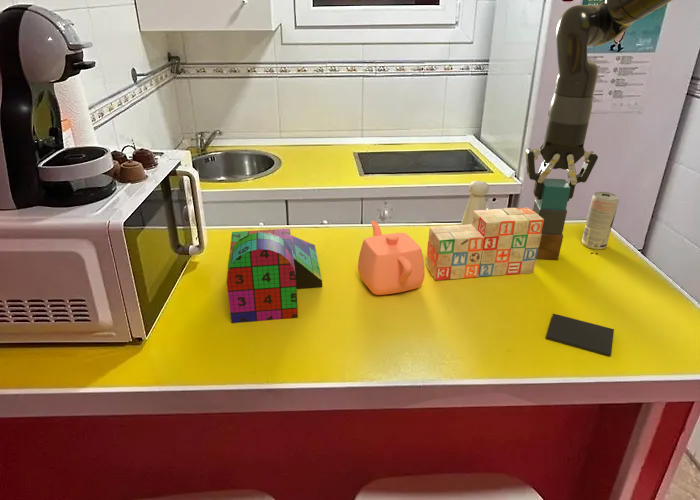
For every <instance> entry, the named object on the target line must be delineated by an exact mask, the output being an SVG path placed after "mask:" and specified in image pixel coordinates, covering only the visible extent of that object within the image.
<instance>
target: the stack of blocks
mask: <svg viewBox="0 0 700 500" xmlns="http://www.w3.org/2000/svg"><path fill="white" fill-rule="evenodd" d="M543 222H544V219H543V218H542V217H540V216H539V215H538V214H536V213H535V212H534V211H533V209H532V208H531V207H502V208H493V209H485V210H478V211H473V218H472V224H470V225H461V224H455V225H454V224H453V225H442V226H429V231H428V240H427V250H426V263H425V267H426V268H427V270H428V271H429V273H430V274H431V276H432V277H433V279H434V280H435V281H442V280H459V279H473V278H479V277H480V278H483V277H493V276H505V275H506V276H509V275H525V274H526V275H527V274H533V273H534V271H535V267H536V262H537V259H536V257H537V252H538V247H539V244H540V240H541V235H542V233H541V232H542V227H543Z"/></svg>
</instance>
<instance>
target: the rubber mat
mask: <svg viewBox="0 0 700 500" xmlns="http://www.w3.org/2000/svg"><path fill="white" fill-rule="evenodd" d="M614 333H615V329H614V328H611V327H607V326H603V325H599V324H596V323H592V322H588V321H584V320H580V319H577V318H574V317H573V318H572V317H568V316H564V315H561V314H557V313H552V316H551V318H550V323H549V326H548V329H547V333H546V336H545V340H548V341H552V342H556V343H559V344H562V345H565V346H570V347H574V348H576V349H580V350H584V351H588V352H590V353H595V354H597V355H602V356H605V357H609V358H611V356H612V350H613V341H614Z"/></svg>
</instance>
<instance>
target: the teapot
mask: <svg viewBox="0 0 700 500" xmlns="http://www.w3.org/2000/svg"><path fill="white" fill-rule="evenodd" d="M370 223H371V227H372V236H368V237H366V238H364V239H363V241H362V244H361V247H360V250H359V256H358V262H357V270H358V274H359V276H360V278H361V280H362V282H363V283H364V285H365V286H366V287H367V289H368V290H369V291H370V292H371V293H372V294H373V295H378V296H379V295H380V296H381V295H390V294H399V293H404V292H407V291H411V290H415V289H417V288H420V287H421V286H422V285H423V283H424V280H425V275H426V274H425V270H426V269H425V262H424V255H423V251H422V247H421V246H420V244H419V243H417V242H416V241H415V240H414V239H413V238H412V237H411V236H410V235H409V234H408V233H406V232H392V233H384V234H383V233H382V230H381V227H380V225H379V222H377V221H376V220H374V219H373V220H371V221H370Z"/></svg>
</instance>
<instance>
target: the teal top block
mask: <svg viewBox="0 0 700 500" xmlns="http://www.w3.org/2000/svg"><path fill="white" fill-rule="evenodd" d="M566 181H567V180H566V178H565V179H564V178H547V177H546V178H545V180H544V182H543V183H544V186H543V191H542V196H541V200H537V198H536V199H535V200H537V202H538V204H539V206H540V208H541V209H552V210H567V206H568V203H569V201H568V197H569V193H570V188H571V187H570V186H569V185H568V183H567V182H566Z"/></svg>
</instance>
